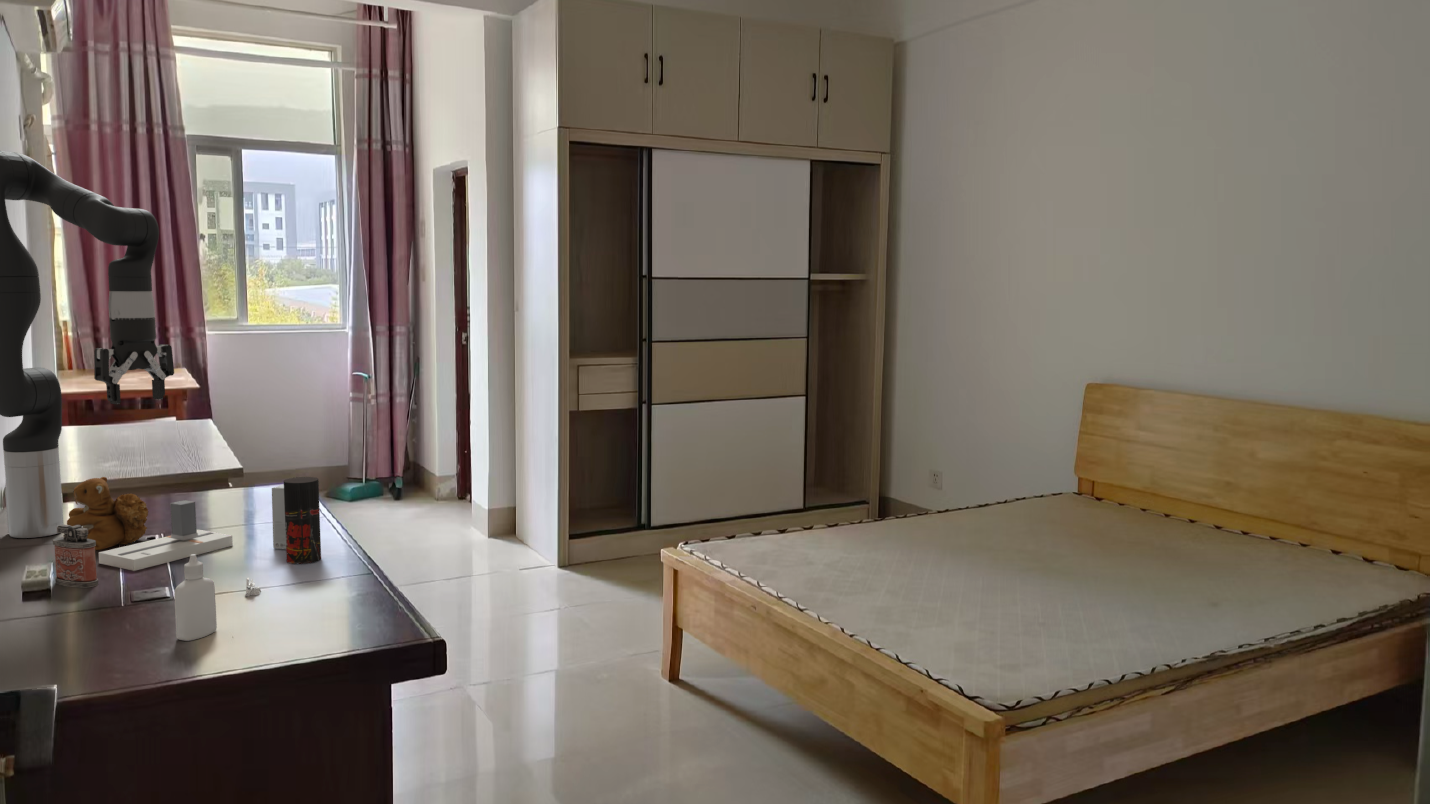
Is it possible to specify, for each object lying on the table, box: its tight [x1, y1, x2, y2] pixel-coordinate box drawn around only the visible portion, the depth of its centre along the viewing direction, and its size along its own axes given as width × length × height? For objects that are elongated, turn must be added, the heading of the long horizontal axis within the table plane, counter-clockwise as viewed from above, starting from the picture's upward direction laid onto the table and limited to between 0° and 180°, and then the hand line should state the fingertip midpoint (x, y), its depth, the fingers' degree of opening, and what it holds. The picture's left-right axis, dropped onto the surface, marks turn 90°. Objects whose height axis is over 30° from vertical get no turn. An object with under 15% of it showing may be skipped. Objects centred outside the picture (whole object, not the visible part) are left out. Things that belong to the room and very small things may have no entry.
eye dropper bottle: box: [173, 554, 218, 642], centre depth 149 cm, size 4×6×12 cm
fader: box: [169, 499, 198, 540], centre depth 196 cm, size 4×3×7 cm
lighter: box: [52, 524, 99, 589], centre depth 174 cm, size 8×3×10 cm, turn 71°
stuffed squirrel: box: [66, 476, 149, 551], centre depth 199 cm, size 10×14×13 cm
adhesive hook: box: [244, 577, 262, 598], centre depth 169 cm, size 3×3×3 cm
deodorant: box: [283, 476, 322, 565], centre depth 189 cm, size 6×6×15 cm
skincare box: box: [271, 483, 286, 550], centre depth 199 cm, size 6×4×12 cm
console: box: [98, 529, 234, 572], centre depth 193 cm, size 10×20×2 cm, turn 153°
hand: (136, 401), depth 195 cm, fingers open, 8 cm apart
